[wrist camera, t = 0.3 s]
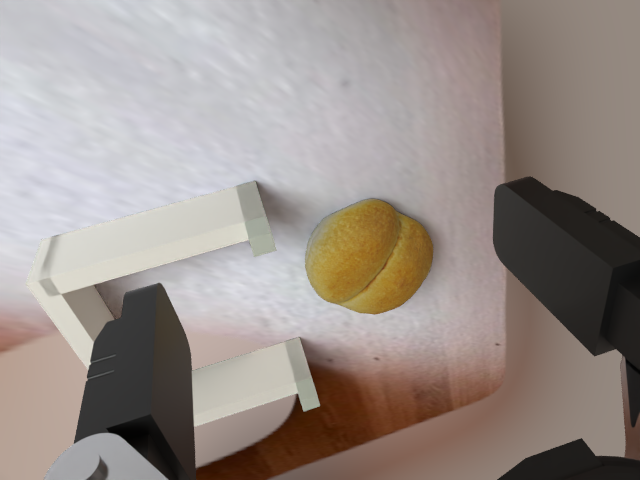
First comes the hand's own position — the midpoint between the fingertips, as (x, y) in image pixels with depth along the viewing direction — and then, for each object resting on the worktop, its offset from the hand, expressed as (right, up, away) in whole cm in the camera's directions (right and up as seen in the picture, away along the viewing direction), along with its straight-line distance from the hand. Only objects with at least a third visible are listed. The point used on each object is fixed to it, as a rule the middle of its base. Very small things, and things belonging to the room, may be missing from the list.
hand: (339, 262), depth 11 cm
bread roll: (+3, 0, +23) cm, 24 cm away
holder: (-9, -4, +22) cm, 24 cm away
